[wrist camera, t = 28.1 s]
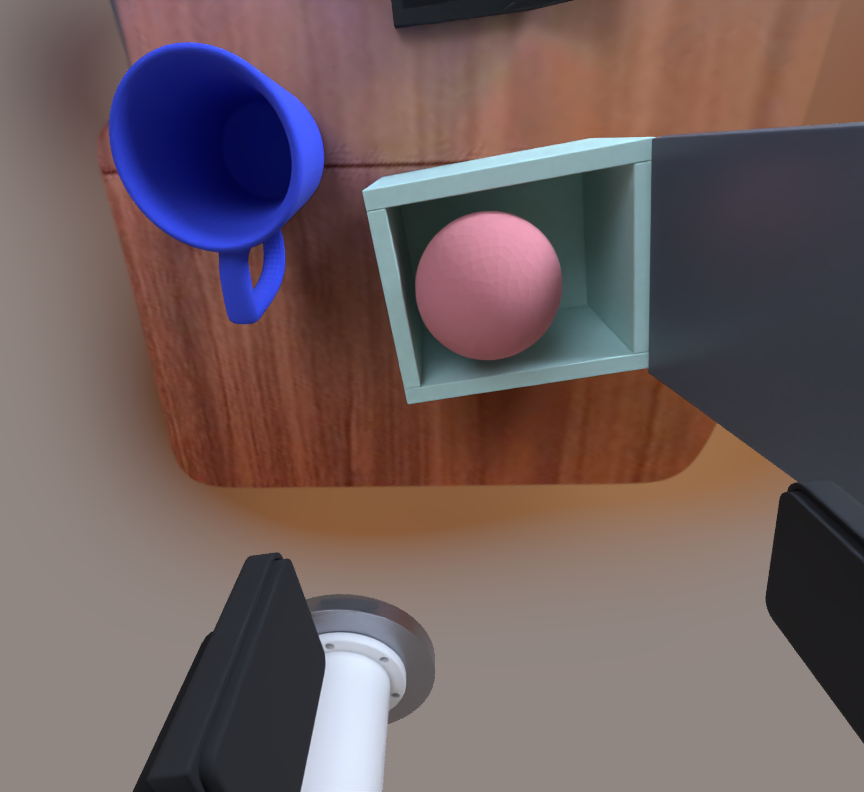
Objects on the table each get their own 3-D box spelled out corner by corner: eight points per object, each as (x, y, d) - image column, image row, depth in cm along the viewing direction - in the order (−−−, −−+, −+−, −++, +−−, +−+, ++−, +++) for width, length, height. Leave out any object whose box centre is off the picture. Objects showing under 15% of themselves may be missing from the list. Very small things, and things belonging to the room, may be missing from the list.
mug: (225, 282, 35) (154, 332, 26) (188, 71, 30) (81, 41, 21) (348, 282, 35) (318, 332, 26) (333, 71, 29) (289, 41, 21)
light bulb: (461, 169, 31) (477, 184, 20) (554, 239, 33) (614, 286, 22) (397, 269, 34) (381, 329, 23) (486, 328, 35) (510, 410, 24)
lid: (903, 560, 14) (1085, 516, 14) (1038, 114, 9) (1303, 61, 10) (647, 372, 26) (748, 350, 27) (650, 138, 22) (772, 114, 22)
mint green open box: (413, 340, 37) (407, 404, 28) (381, 177, 32) (361, 190, 23) (597, 311, 36) (651, 367, 27) (591, 138, 31) (655, 136, 22)
